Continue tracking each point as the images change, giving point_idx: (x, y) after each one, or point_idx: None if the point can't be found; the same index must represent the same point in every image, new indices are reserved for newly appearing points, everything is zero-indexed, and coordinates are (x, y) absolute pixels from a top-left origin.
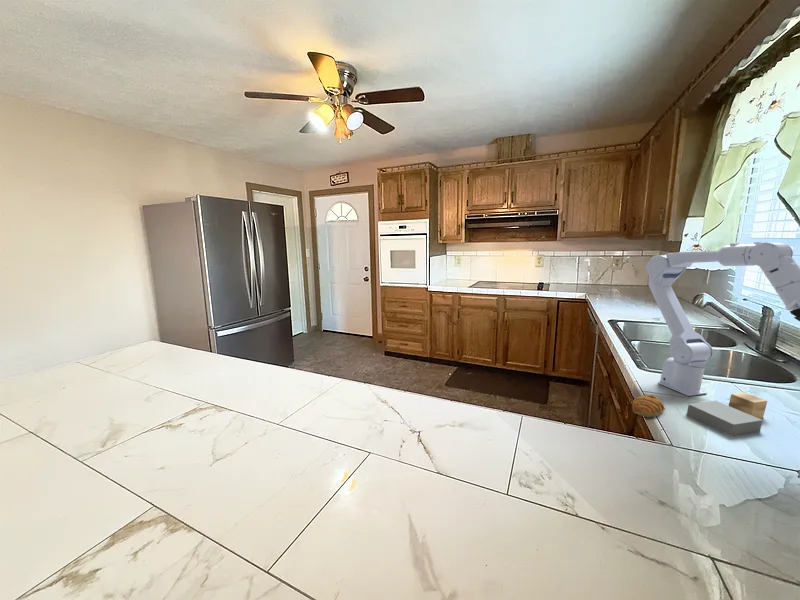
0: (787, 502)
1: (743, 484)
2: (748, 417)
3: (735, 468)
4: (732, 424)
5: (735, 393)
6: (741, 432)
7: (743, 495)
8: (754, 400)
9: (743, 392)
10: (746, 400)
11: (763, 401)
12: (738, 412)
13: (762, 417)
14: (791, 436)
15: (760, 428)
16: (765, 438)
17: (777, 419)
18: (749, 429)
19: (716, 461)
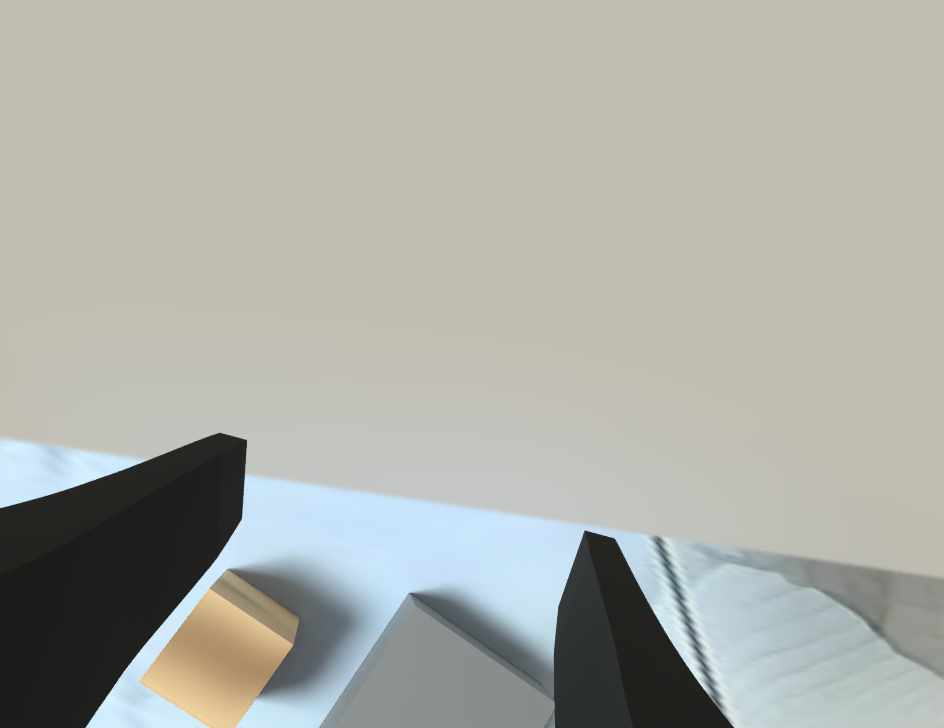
0: (841, 573)
1: (836, 656)
2: (428, 653)
3: (767, 672)
4: (554, 707)
5: (203, 721)
6: (498, 656)
7: (886, 658)
8: (255, 642)
9: (147, 685)
10: (272, 672)
11: (234, 605)
12: (396, 687)
13: (230, 571)
14: (374, 499)
15: (410, 596)
16: (468, 581)
17: None
18: (466, 634)
19: (766, 718)
